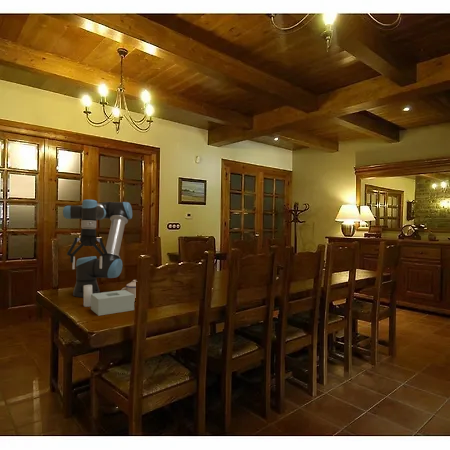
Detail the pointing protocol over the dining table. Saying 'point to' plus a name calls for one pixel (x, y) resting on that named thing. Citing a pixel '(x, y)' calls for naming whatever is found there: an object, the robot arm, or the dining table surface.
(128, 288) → the teacup with lid
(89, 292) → the cylinder
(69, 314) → the dining table surface
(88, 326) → the dining table surface
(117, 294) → the block
